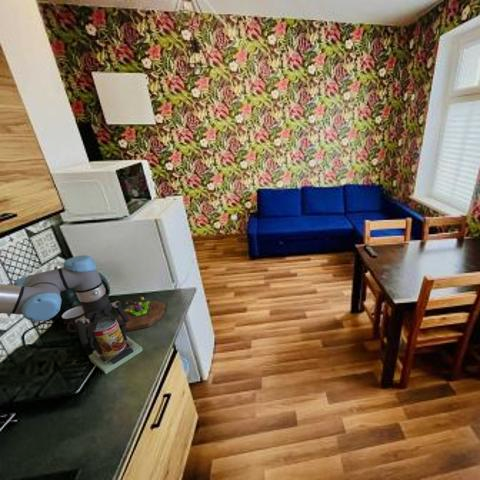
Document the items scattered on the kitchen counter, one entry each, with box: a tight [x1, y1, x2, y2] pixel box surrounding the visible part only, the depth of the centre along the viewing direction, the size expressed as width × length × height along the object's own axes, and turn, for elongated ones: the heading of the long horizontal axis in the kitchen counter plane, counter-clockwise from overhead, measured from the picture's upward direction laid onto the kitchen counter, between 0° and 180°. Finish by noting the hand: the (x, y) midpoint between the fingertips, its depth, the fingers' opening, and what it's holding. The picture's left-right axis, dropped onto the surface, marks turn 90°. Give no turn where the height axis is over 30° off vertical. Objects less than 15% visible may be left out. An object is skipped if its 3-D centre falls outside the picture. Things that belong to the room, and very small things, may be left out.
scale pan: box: [91, 339, 135, 364], centre depth 104 cm, size 10×10×1 cm
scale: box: [88, 335, 144, 375], centre depth 105 cm, size 13×13×5 cm
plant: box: [117, 296, 167, 333], centre depth 126 cm, size 20×20×11 cm
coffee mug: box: [61, 305, 90, 336], centre depth 116 cm, size 12×9×10 cm
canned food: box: [94, 316, 126, 356], centre depth 102 cm, size 8×8×12 cm
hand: (112, 345), depth 104 cm, fingers closed on canned food, 8 cm apart
